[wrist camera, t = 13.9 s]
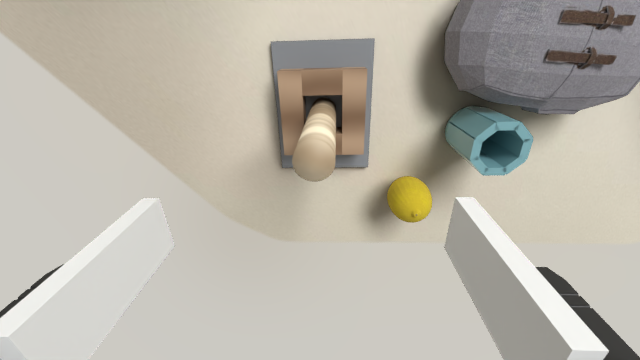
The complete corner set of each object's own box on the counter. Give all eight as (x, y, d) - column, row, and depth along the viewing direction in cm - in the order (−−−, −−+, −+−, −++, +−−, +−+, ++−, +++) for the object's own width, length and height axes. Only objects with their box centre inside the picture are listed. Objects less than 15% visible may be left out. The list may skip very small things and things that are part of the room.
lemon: (383, 168, 40) (393, 196, 33) (422, 166, 40) (442, 193, 32) (383, 202, 42) (393, 234, 35) (420, 200, 42) (438, 232, 35)
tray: (272, 41, 33) (270, 41, 33) (373, 38, 33) (374, 38, 32) (283, 165, 40) (282, 167, 40) (367, 164, 40) (367, 167, 39)
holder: (281, 68, 34) (277, 71, 31) (364, 66, 34) (367, 68, 31) (287, 147, 38) (284, 155, 36) (361, 146, 38) (363, 154, 35)
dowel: (310, 97, 35) (290, 141, 20) (336, 97, 35) (335, 141, 20) (311, 122, 37) (293, 181, 22) (336, 122, 37) (335, 181, 21)
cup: (449, 106, 36) (478, 122, 29) (497, 105, 36) (539, 121, 28) (441, 150, 38) (466, 175, 31) (486, 150, 38) (522, 175, 31)
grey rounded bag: (647, -35, 29) (453, -49, 29) (756, -63, 22) (494, -80, 22) (578, 111, 36) (421, 99, 36) (643, 129, 28) (444, 114, 28)
